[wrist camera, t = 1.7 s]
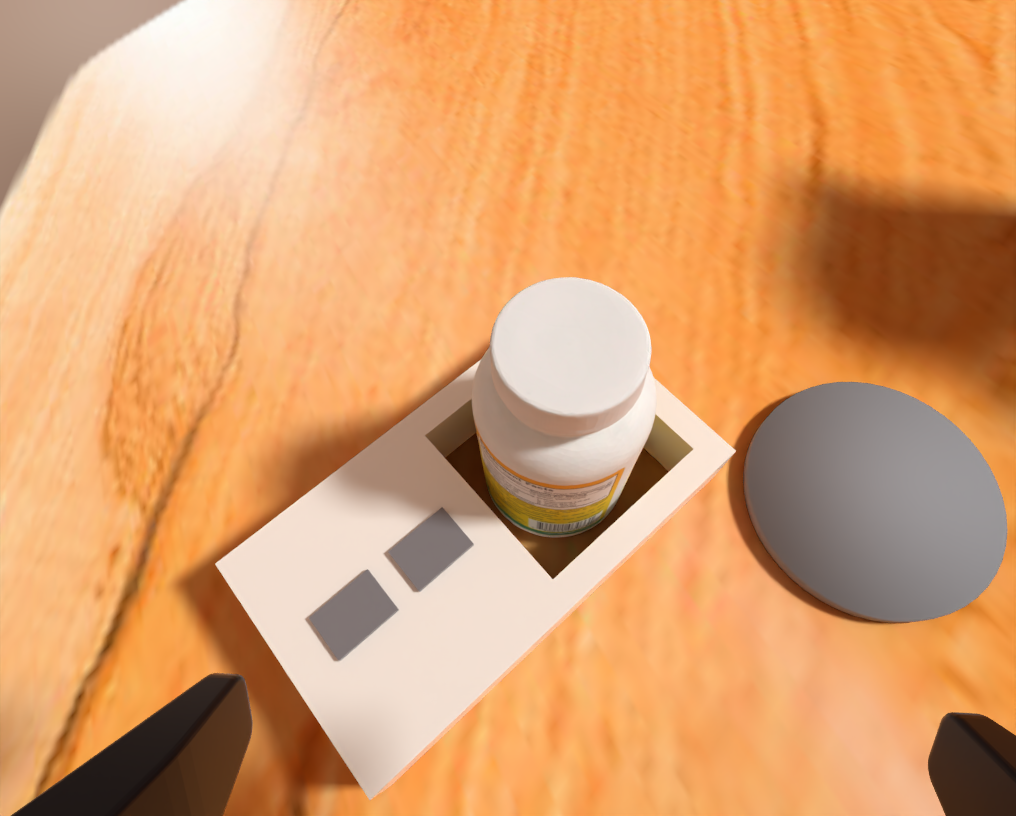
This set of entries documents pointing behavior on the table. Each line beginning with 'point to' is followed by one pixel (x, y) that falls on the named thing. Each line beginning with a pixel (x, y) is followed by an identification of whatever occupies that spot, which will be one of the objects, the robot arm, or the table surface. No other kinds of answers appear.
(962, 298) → the table surface
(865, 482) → the mat
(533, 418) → the supplement bottle
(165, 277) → the table surface
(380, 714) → the desk organizer
